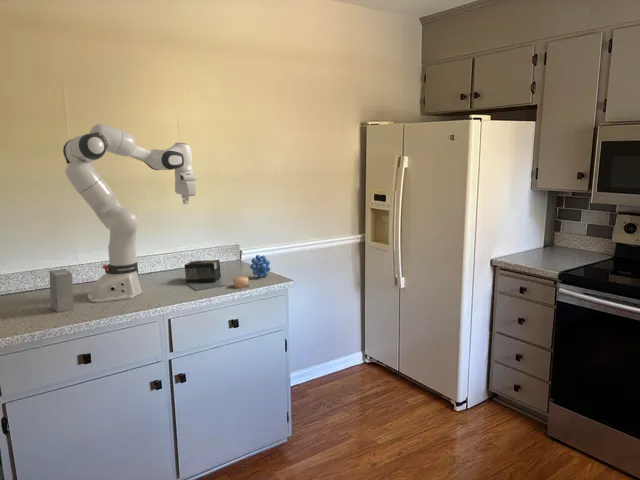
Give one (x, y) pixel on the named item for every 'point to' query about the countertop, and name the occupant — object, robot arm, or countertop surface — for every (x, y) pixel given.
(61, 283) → the skincare box
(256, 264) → the grapes
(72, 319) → the countertop surface
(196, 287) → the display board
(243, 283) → the tan round lump
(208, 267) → the tampon box
